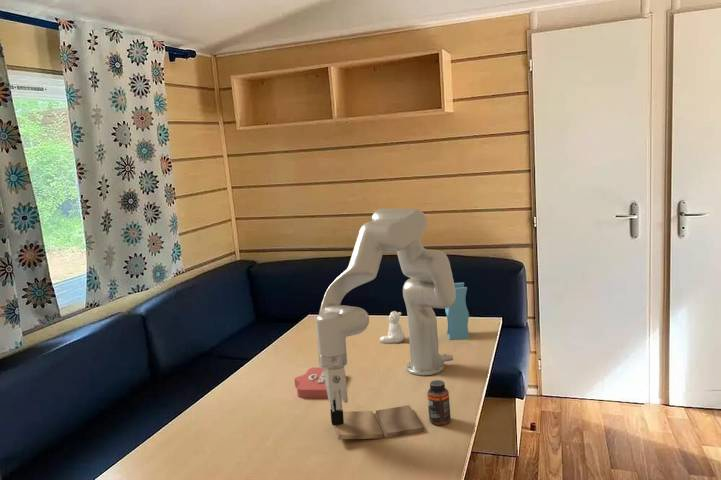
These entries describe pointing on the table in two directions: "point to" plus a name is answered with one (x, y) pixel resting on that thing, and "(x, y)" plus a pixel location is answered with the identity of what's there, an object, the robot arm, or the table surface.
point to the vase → (458, 315)
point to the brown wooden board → (398, 421)
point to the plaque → (311, 384)
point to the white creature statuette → (393, 330)
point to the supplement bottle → (438, 403)
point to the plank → (358, 426)
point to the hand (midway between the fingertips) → (337, 423)
